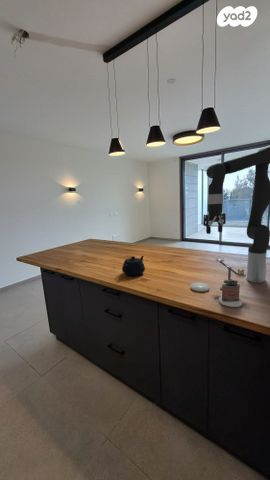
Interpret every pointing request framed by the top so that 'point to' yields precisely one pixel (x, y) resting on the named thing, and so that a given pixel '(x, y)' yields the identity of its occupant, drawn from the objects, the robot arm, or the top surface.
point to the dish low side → (231, 303)
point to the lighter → (230, 291)
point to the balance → (239, 274)
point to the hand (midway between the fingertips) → (214, 232)
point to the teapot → (133, 266)
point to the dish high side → (199, 286)
